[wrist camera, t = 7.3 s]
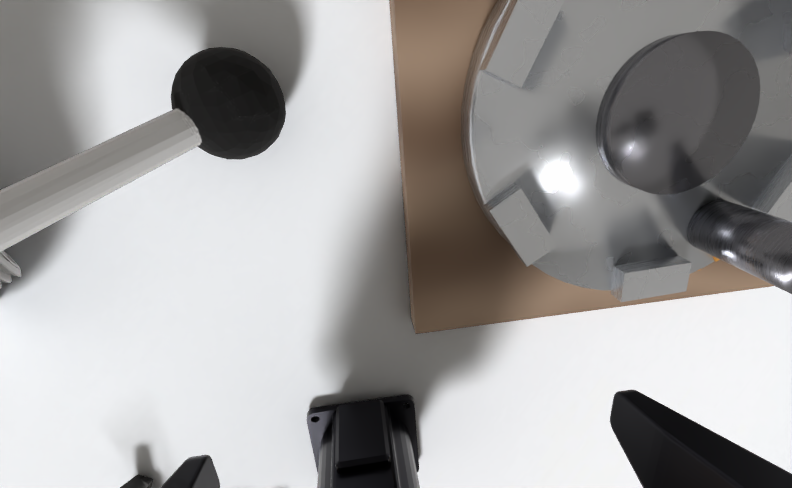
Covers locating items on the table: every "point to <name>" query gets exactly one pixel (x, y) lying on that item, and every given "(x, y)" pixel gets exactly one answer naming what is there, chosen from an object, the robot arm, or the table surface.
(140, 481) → the soldier figurine
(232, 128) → the mechanical valve
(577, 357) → the table surface
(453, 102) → the base plate
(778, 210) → the rotary indexing table
